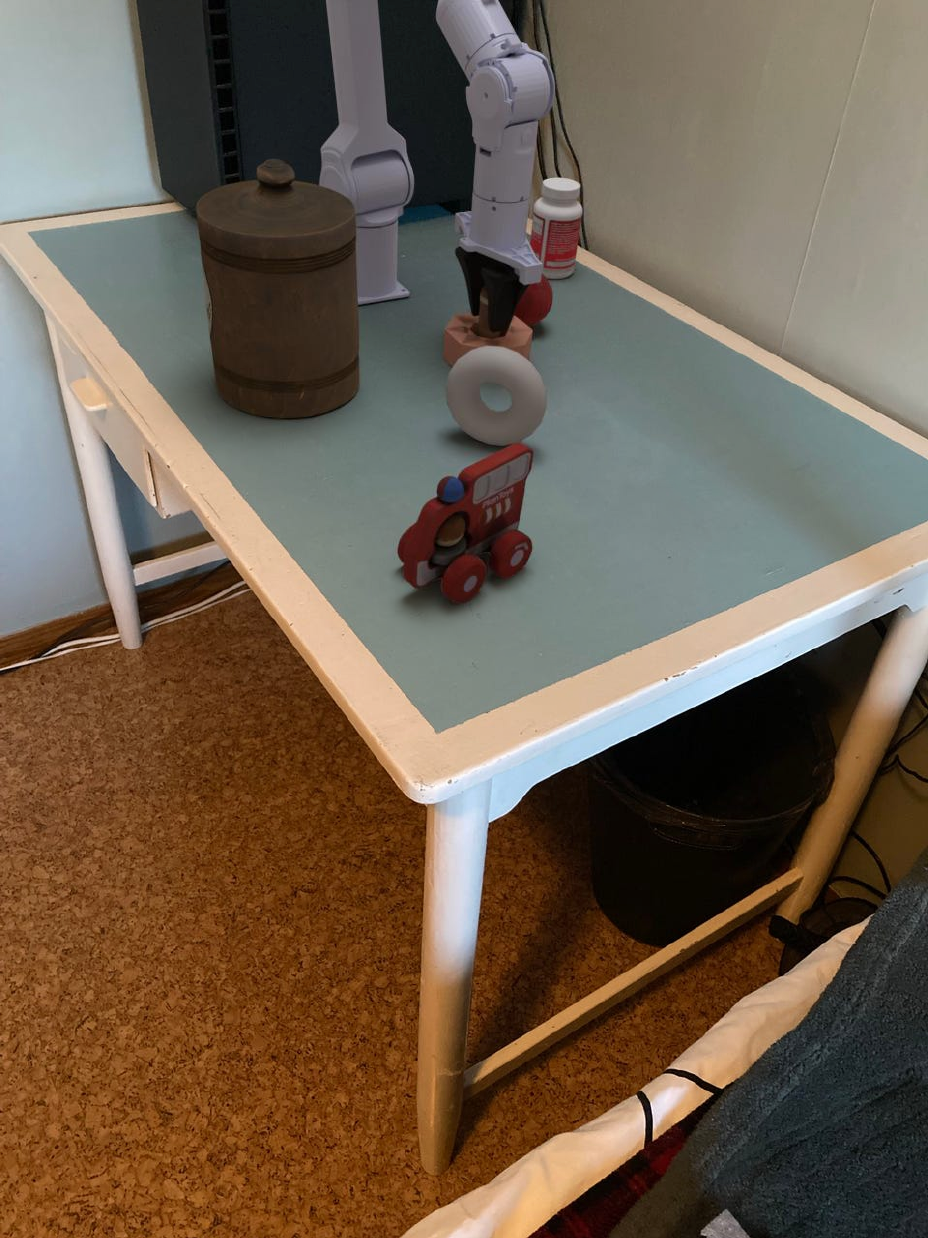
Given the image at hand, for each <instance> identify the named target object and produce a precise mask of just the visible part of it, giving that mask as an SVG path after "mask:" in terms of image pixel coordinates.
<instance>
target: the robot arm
mask: <svg viewBox="0 0 928 1238" xmlns="http://www.w3.org/2000/svg"><path fill="white" fill-rule="evenodd" d="M325 4H326V12H327V22H328V30H329V39H330V41H329V42H330V50H331V57H332V58H331V60H332V69H333V77H334V86H335V87H334V88H335V96H336V104H337V105H336V106H337V114H338V116H337V117H338V126H337V127H336V128H335V130H334V131H333V132H332V133H331V135H330V136H329V137H328V138H327V139H326V141H325V142H324V143H323V144H322V146H321V148H320V156H321V169H320V175H319V182H318V183H319V184H318V185H319V186H323V187H326V188H329V189H332V190H334V191H336V192H338V193H340V194H342V195H344V196H345V197H347V198H348V199H349V200H350V201H351V202H352V203H353V205H354V208H355V217H356V265H357V294H358V306H359V305H366V304H371V303H376V302H377V303H378V302H382V301H388V300H395V299H402V298H406V297H409V296H410V291H409V290H408V289H407V288H406V287H404V285H402V284H401V283H400V282H399V281H398V279H397V277H398V241H399V240H398V233H399V231H398V230H399V229H398V228H399V224H398V223H399V217H401V216H403V215H404V207H405V206H406V205H408V204H409V203H410V201H411V200H412V197H413V194H414V189H415V187H414V186H415V178H414V173H413V169H412V166H411V163H410V160H409V157H408V153H407V142H406V141H407V140H406V139H405V138H404V137H403V136H402V135H401V134H400V133H399V132H398V131H396V130H395V129H394V128H393V127H392V126H391V125H390V124H389V122H388V115H387V103H386V102H387V101H386V89H385V78H384V64H383V53H382V39H381V27H380V16H379V4H378V0H325ZM435 10H436V12H435V20H436V23H437V25H438V27H439V28H440V30H441V33H442V34H443V36H444V37H445V39H446V42H447V43H448V45H449V47H450V48H451V51H452V53H453V55H454V56H455V58H456V61H457V62H458V64H459V65H460V67H461V69H462V70H463V72H464V75H465V76H466V78H467V79H466V80H467V81H468V82H469V86H465V98H466V104H467V108H468V112H469V114H470V118H471V121H472V123H471V124H472V130H471V133H472V134H471V137H473V142H474V144H475V156H474V157H475V158H474V170H473V171H474V174H473V186H472V187H473V189H472V198H471V211H464V212H463V211H461V212H455V217H454V232H456V233H457V234H458V235H464V237H462V238H460V239H459V246H457V247H455V249H454V254H455V257H456V259H457V261H458V263H459V266H460V268H461V271H462V274H463V278H464V281H465V286H466V291H467V297H468V304H469V309H470V312H471V314H472V315H473V316H474V317H475V316H479V311H480V294H481V289H482V288H483V287H484V286H486V290H487V297H488V324H489V330H490V331H491V332H493V333H495V332H500V331H505V330H508V329H509V326H510V324H511V321H512V319H513V316H514V313H515V311H516V308H517V306H518V304H519V301H520V299H521V298H522V296H523V294H524V292H525V291H526V289H527V288H528V286H529V285H530V284H533V283H538V282H541V275H542V267H543V263H541V262H540V261H539V260H538V259H537V258H536V256H535V254H534V252H533V250H532V248H531V246H530V241H529V240H528V238H527V236H526V235H527V228H528V219H529V218H528V217H529V209H530V208H529V207H530V198H531V192H532V182H533V175H534V174H533V173H534V162H535V154H536V146H537V137H538V136H537V135H538V130H539V128H538V127H539V120H542V119H543V118H545V117H546V116H547V115H548V113H549V112H550V111H551V109H552V106H553V105H554V101H555V95H556V83H555V77H554V72H553V71H552V68H551V66H550V62H549V59H548V58H547V57H546V56H545V55H544V54H543V53H542V52H539V51H537V50H533V49H531V47H529V45H528V43H526V42H521V40H520V38H519V36H518V34H517V33H516V31H515V28H514V26H513V25H512V23H511V21H510V19H509V18H508V16H507V14H506V12H505V10H504V8H503V6H502V5H501V3H500V1H499V0H438V1H437V6H436V9H435Z"/></svg>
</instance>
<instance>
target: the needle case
mask: <svg viewBox="0 0 928 1238" xmlns="http://www.w3.org/2000/svg"><path fill="white" fill-rule="evenodd" d="M499 334H500V332H495V333H493V332H491V331H490V330H489V324H488V297H487V290H486V286H484V287H483V288H482V289H481V294H480V311H479V323H478V335H477V336H479V337H484V338H489V339H494V338H499Z"/></svg>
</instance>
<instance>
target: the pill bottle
mask: <svg viewBox="0 0 928 1238" xmlns="http://www.w3.org/2000/svg"><path fill="white" fill-rule="evenodd" d="M541 186H542V187H541V195H542V197H540V198H538V199H537V200H536V201H535V203H534V206H533V211H532V214H533V215H532V222H531V231H530V232H531V233H530V241H529V244H530V246H531V248H532V250H533V252H534V254H535V256H536V258H537V259H538V260H539V261H540V262H541V263H543V267H542V274H543V275H544V276H545V277H546V278H547V279H549V280H560V279H564V278H568V277H570V276H571V275H572V274H573V273H574V271H575V268H576V260H577V254H578V246H579V239H580V232H581V225H582V218H583V206H582V205H581V204H580V202H579V201H578V200H577V199H579V198H580V197H579V196H580V195H581V194H580V193H581V192H580V191H581V184H580V182H579V181H576V180H574V179H571V178H566V177H565V178H564V177H550V178H547V179H544V180H543V181H542V185H541Z"/></svg>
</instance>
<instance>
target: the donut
mask: <svg viewBox="0 0 928 1238" xmlns="http://www.w3.org/2000/svg"><path fill="white" fill-rule="evenodd" d="M490 383H492V384H493V383H494V384H497V385H500V386H501V387H502V388H504V390H506V391H507V393H508V394H509V395H510V398H511V403H510V406H509V407H508V408H507V409H506V410H496V409H493V408H491V407H490V406H488V405H487V404H486V403H485V402H484V400H483V399H482V395H481V390H482V387H483V386H484V385H485V384H490ZM445 398H446V404H447V407H448V409H449V412H450V414H451V417H452V418H453V421H455V423H456V424H457V425H458V427H460V428H459V429H461V430H462V431H463V432H465V433H466V434H467V435H468V436H470V437H471V438H472V439H474V440H476V441H479V442H481V443H484V444H486V445H489V446H498V447H501V446H502V447H503V446H504V447H505V446H506V447H507V446H510V445H512V444H514V443H517V442H519V443H521V442H522V441H524V440H526V439H528V438H529V437H531V436H532V435H533V434H534V433H535V431H536V430H537V429H538V428H539V427H540V426H541V424H542V422H543V419H544V416H545V414H546V413H545V412H546V410H547V407H548V405H547V404H548V403H547V389H546V386H545V384H544V381H543V378H542V375H541V373H540V372H539V371H538V370H537V369H536V367H535V366H534V364H533V363H532V362H531V361H530V360H529V361H528V360H527V359H526V358H524V357H523V356H522V355H520V354H519V353H517V352H515V351H512V350H510V349H507V348H505V347H497V346H484V347H480V348H477V349H473V350H471V351H470V352H468V353H467V354H465V355H464V356H462V357H461V358H459V359H458V360H457V362H456V363H455V365H454V366H453V368H452V367H451V369H450V370H449V373H448V376H447V381H446V385H445Z"/></svg>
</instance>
